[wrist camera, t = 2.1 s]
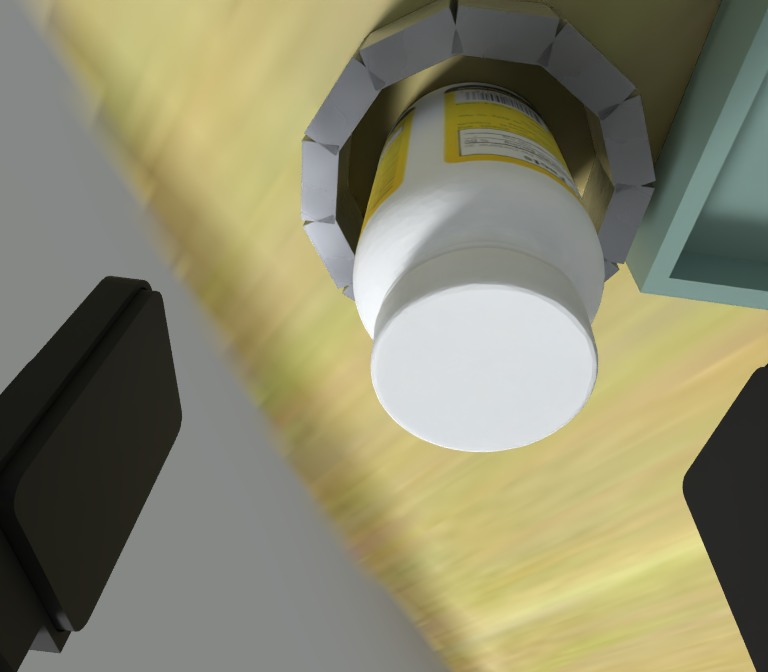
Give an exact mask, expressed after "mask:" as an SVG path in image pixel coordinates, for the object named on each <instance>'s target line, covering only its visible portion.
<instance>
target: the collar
mask: <svg viewBox="0 0 768 672" xmlns="http://www.w3.org/2000/svg"><path fill="white" fill-rule="evenodd" d="M457 54H458V55H466V56H474V57H481V58H489V59H496V60H504V61H512V62H519V63H527V64H534V65H541V66H542V67H543V68H544V69H545V70H546V71H548V72H549V73H550V74H551V75H552V76H553V77H554V78H555V79H556V80H558V81H559V82H560V83H561V84H562V85H563V86H564V87H565V88H567V89H568V90H569V91H570V92H571V93H572V94H573V95H574V96H575V97H577V98H578V99H579V100H580V101H581V102H582V103H583V104H584V106H585V111H586V115H587V119H588V123H589V128H590V132H591V136H592V141H593V145H594V149H595V153H596V158H595V161H594V164H593V167H592V170H591V173H590V176H589V179H588V182H587V185H586V188H585V191H584V194H583V197H582V200H583V203H584V205H585V207H586V209H587V211H588V213H589V215H590V218H591V220H592V222H593V224H594V227H595V229H596V232H597V235H598V239H599V242H600V245H601V248H602V252H603V258H604V267H605V278H604V282H605V281H607V280H608V279H609V278H610V277H611V276H612V275H614V274H615V273H616V272H617V271H618V270H619V268H618V266H617V263H621V264H624V262H625V260H626V257H627V255H628V252H629V250H630V248H631V245H632V243H633V240H634V238H635V235H636V233H637V231H638V228H639V226H640V223H641V221H642V218H643V216H644V214H645V211H646V209H647V206H648V204H649V201H650V199H651V197H652V194H653V192H654V189H655V188H654V186H653V185H652V183H651V182H653V181H656V178H655V173H654V167H653V162H652V156H651V151H650V145H649V139H648V134H647V128H646V123H645V117H644V112H643V106H642V101H641V95H640V94H639V93H638V92H637V91H636V90H635V89H636V88H637V87H636V86H635V85H634V84H632V83H631V82H630V81H629V80H628V79H627V78H626V77H625V76H624V75H623V74H622V73H621V72H620V71H619V70H618V69H617V68H616V67H615V66H614V65H613V64H612V63H611V62H610V61H609V60H608V59H607V58H606V57H605V56H604V55H603V54H602V53H600V52H599V51H598V50H597V49H596V48H595V47H594V46H593V45H592V44H591V43H590V42H589V41H588V40H587V39H586V38H585V37H584V36H582V35H581V34H580V33H579V32H578V31H577V30H576V29H575V28H574V27H573V26H572V25H571V24H570V23H569V22H568V21H567V20H566V19H564V18H563V17H562V16H561V15H560V14H559V13H558V12H557V11H556V10H555V9H554V8H553V7H552V8H551V9H550V8H549V7H548V6H547V5H546V4H543V3H536V2H528V1H520V0H457V2H456V8H454V5H453V2H452V0H436V1H434V2H432V3H430V4H428V5H426V6H424V7H422V8H420V9H418V10H416V11H414V12H412V13H410V14H408V15H406V16H404V17H402V18H400V19H398V20H396V21H394V22H392V23H390V24H388V25H386V26H384V27H381V28H379V29H377V30H375V31H373V32H371V33H370V35H369V36H368V38H367V39H366V38H365V39H364V40H363V42H362V43H361V45H360V46H359V48H358V49H357V51H356V52H355V54H354V55H353V57H352V58H351V60H350V61H349V63H348V65H347V66H346V68H345V69H344V71H343V73H342V74H341V76H340V77H339V79H338V80H337V82H336V84H335V85H334V87H333V88H332V90H331V92H330V93H329V95H328V96H327V98H326V99H325V101H324V103H323V104H322V106H321V107H320V109H319V111H318V112H317V114H316V115H315V117H314V118H313V120H312V122H311V123H310V125H309V126H308V128H307V130H306V131H305V134H306V135H305V137H304V138H303V140H302V182H301V220H305V223H304V225H303V228H304V229H305V231H306V233H307V235H308V236H309V238H310V240H311V242H312V243H313V245H314V247H315V249H316V250H317V252H318V254H319V256H320V258H321V259H322V261H323V263H324V265H325V266H326V268H327V270H328V272H329V273H330V275H331V277H332V279H333V281H334V282H335V284H336V286H337V288H338V289H339V288H342V287H344V290H343V294H344V295H346V296H347V297H349V298H350V299H352V300H354V301H355V298H354V292H353V269H354V261H355V254H356V249H357V245H358V241H359V237H360V233H361V230H362V225H363V222H364V217H363V215H362V213H361V211H360V209H359V207H358V205H357V203H356V201H355V198H354V196H353V194H352V192H351V190H350V188H349V186H348V179H349V164H350V149H351V134H352V132H353V130H354V129H355V127H356V126H357V124H358V123H359V122H360V120H361V119H362V117H363V116H364V114H365V113H366V111H367V110H368V108H369V107H370V106H371V104H372V103H373V101H374V100H375V98H376V97H377V95H378V94H379V92H380V91H381V90H382V89H383V88H385V87H387V86H389V85H391V84H394V83H396V82H398V81H400V80H402V79H405V78H407V77H409V76H411V75H413V74H416V73H418V72H420V71H422V70H424V69H427V68H429V67H431V66H433V65H435V64H438V63H440V62H442V61H444V60H446V59H449V58H451V57H453V56H455V55H457Z"/></svg>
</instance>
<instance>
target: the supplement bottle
mask: <svg viewBox="0 0 768 672" xmlns="http://www.w3.org/2000/svg"><path fill="white" fill-rule="evenodd" d="M604 278H605V267H604V258H603V252H602V248H601V245H600V242H599V239H598V235H597V232H596V229H595V227H594V224H593V222H592V220H591V218H590V215H589V213H588V211H587V209H586V207H585V205H584V203H583V200H582V198H581V196H580V194H579V192H578V189H577V187H576V185H575V183H574V180H573V178H572V176H571V174H570V171H569V169H568V167H567V165H566V163H565V161H564V158H563V156H562V154H561V152H560V150H559V148H558V146H557V143H556V141H555V139H554V137H553V135H552V133H551V131H550V129H549V127H548V126H547V124H546V123H545V121H544V120H543V118H542V117H541V115H540V114H539V113H538V112H537V110H536V109H535V108H534V107H533V106H532V105H531V104H530V103H528V102H527V101H526V100H525V99H523V98H522V97H521V96H519V95H517V94H515V93H514V92H512V91H510V90H507V89H505V88H502V87H499V86H496V85H491V84H486V83H477V82H467V83H458V84H453V85H449V86H445V87H442V88H440V89H437V90H435V91H432V92H430V93H428V94H427V95H425V96H423V97H422V98H420V99H419V100H418V101H416V102H415V103H414V104H413V105H411V106H410V107H409V108H408V109H407V110H406V111H405V112H404V113H403V114H402V115H401V117H400V118H399V119H398V120H397V122H396V123H395V125H394V126H393V128H392V130H391V131H390V133H389V135H388V137H387V139H386V142H385V144H384V147H383V150H382V153H381V156H380V160H379V164H378V167H377V172H376V176H375V180H374V183H373V187H372V191H371V195H370V199H369V202H368V206H367V210H366V214H365V218H364V222H363V225H362V230H361V233H360V237H359V241H358V245H357V249H356V254H355V261H354V269H353V292H354V298H355V302H356V306H357V309H358V313H359V315H360V318H361V320H362V323H363V324H364V326H365V328H366V330H367V332H368V333H369V335H370V336H371V338H372V339H373V347H372V355H371V377H372V383H373V387H374V389H375V392H376V394H377V397H378V399H379V401H380V403H381V404H382V406H383V407H384V409H385V410H386V411H387V413H388V414H389V415H390V416H391V417H392V418H393V419H394V420H395V421H396V422H397V423H398V424H399V425H400V426H402V427H403V428H404V429H405V430H407V431H408V432H410V433H412V434H413V435H415V436H417V437H419V438H421V439H423V440H425V441H427V442H430V443H433V444H435V445H438V446H442V447H445V448H450V449H455V450H461V451H469V452H494V451H501V450H507V449H513V448H518V447H522V446H525V445H529V444H531V443H534V442H536V441H539V440H541V439H543V438H545V437H547V436H549V435H550V434H552V433H554V432H556V431H557V430H559V429H560V428H562V427H563V426H565V425H566V424H567V423H568V422H569V421H570V420H572V419H573V418H574V417H575V416H576V415H577V414H578V413H579V411H580V410H581V409H582V408H583V407H584V405H585V404H586V402H587V400H588V398H589V397H590V395H591V393H592V391H593V388H594V385H595V382H596V378H597V373H598V353H597V348H596V344H595V340H594V336H593V332H592V329H591V324H592V322H593V320H594V317H595V315H596V313H597V311H598V308H599V305H600V303H601V298H602V294H603V289H604Z"/></svg>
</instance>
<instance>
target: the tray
mask: <svg viewBox="0 0 768 672" xmlns="http://www.w3.org/2000/svg"><path fill="white" fill-rule="evenodd" d="M654 173H655V178H656V181H653V182H651V183H652V185H653V186H654V188H655V189H654V192H653V194H652V197H651V199H650V201H649V204H648V206H647V209H646V211H645V214H644V216H643V218H642V221H641V223H640V226H639V228H638V231H637V233H636V235H635V238H634V240H633V243H632V245H631V248H630V250H629V252H628V255H627V257H626V260H625V262H626V264H627V266H628V268H629V270H630V272H631V274H632V276H633V278H634V280H635V282H636V284H637V286H638V288H639V290H640V292H641V293H649V294H656V295H663V296H670V297H678V298H685V299H692V300H699V301H707V302H714V303H721V304H728V305H736V306H743V307H750V308H757V309H765V310H768V0H722V1H721V4H720V6H719V9H718V11H717V14H716V16H715V19H714V21H713V24H712V26H711V29H710V31H709V34H708V36H707V39H706V41H705V44H704V46H703V48H702V51H701V53H700V56H699V58H698V61H697V63H696V66H695V68H694V71H693V73H692V76H691V78H690V81H689V83H688V86H687V88H686V91H685V93H684V96H683V98H682V101H681V103H680V106H679V108H678V111H677V113H676V116H675V118H674V121H673V123H672V126H671V128H670V131H669V133H668V136H667V138H666V140H665V143H664V145H663V148H662V150H661V153H660V155H659V158H658V160H657V163H656V165H655V168H654Z"/></svg>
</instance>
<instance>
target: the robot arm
mask: <svg viewBox="0 0 768 672" xmlns="http://www.w3.org/2000/svg"><path fill="white" fill-rule="evenodd" d="M181 421H182V411H181V404H180V398H179V393H178V387H177V381H176V375H175V369H174V363H173V357H172V351H171V345H170V339H169V334H168V328H167V322H166V317H165V310H164V304H163V299H162V295H161V294H160V292H158V291H152V289H151V286H150V284H149V283H148V282H147V281H145V280H139V279H130V278H122V277H114V276H108V277H105V278H104V279H103V280H102V281H101V282H100V283H99V284H98V285H97V286H96V288H95V289H94V290H93V291H92V292H91V293H90V294H89V295H88V297H87V298H86V299H85V300H84V301H83V302H82V304H81V305H80V306H79V307H78V308H77V309H76V310H75V311H74V313H73V314H72V315H71V316H70V317H69V318H68V319H67V321H66V322H65V323H64V324H63V325H62V326H61V327H60V329H59V330H58V331H57V332H56V333H55V334H54V336H53V337H52V338H51V339H50V340H49V341H48V342H47V344H46V345H45V346H44V347H43V348H42V349H41V350H40V352H39V353H38V354H37V355H36V356H35V357H34V358H33V359H32V360H31V361H30V362H29V363H28V364H27V365H26V366H25V368H23V369H22V371H21V372H20V373H19V374H18V375H17V377H15V379H14V380H13V381H12V382H11V383H10V384H9V385H8V387H7V388H6V389H5V390H4V391H3V392H2V394H1V395H0V672H17V671H18V669H19V667H20V665H21V663H22V661H23V660H24V658H25V656H26V654H27V652H28V650H37V651H45V652H54V653H60V652H61V651H62V649H63V647H64V645H65V643H66V641H67V639H68V637H69V635H70V633H71V631H75V632H76V631H80V630H81V629H82V628H83V627H84V626H85V625H86V623H87V622H88V620H89V618H90V616H91V614H92V612H93V610H94V608H95V606H96V604H97V602H98V600H99V598H100V596H101V593H102V591H103V589H104V587H105V585H106V583H107V581H108V579H109V577H110V574H111V573H112V571H113V568H114V566H115V564H116V562H117V560H118V558H119V556H120V554H121V552H122V549H123V548H124V546H125V543H126V541H127V539H128V537H129V535H130V533H131V531H132V529H133V527H134V525H135V523H136V521H137V518H138V516H139V514H140V512H141V510H142V508H143V506H144V504H145V502H146V500H147V498H148V496H149V494H150V492H151V489H152V487H153V485H154V483H155V481H156V479H157V477H158V475H159V473H160V471H161V469H162V466H163V464H164V462H165V460H166V458H167V456H168V454H169V452H170V450H171V448H172V445H173V444H174V442H175V440H176V437H177V435H178V433H179V430H180V427H181ZM683 494H684V497H685V500H686V502H687V505H688V507H689V510H690V512H691V514H692V517H693V519H694V522H695V524H696V526H697V529H698V531H699V534H700V536H701V539H702V541H703V543H704V546H705V548H706V551H707V553H708V555H709V558H710V560H711V563H712V565H713V568H714V570H715V572H716V575H717V577H718V580H719V582H720V584H721V587H722V589H723V592H724V594H725V597H726V599H727V601H728V604H729V606H730V609H731V611H732V614H733V616H734V618H735V621H736V623H737V626H738V628H739V630H740V633H741V635H742V638H743V640H744V643H745V645H746V647H747V650H748V652H749V655H750V657H751V659H752V662H753V664H754V667H755V669H756V672H768V364H767V365H766V366H765V367H760V368H758V369H757V370H756V371H755V372H754V373H753V374H752V376H751V377H750V379H749V380H748V382H747V383H746V385H745V386H744V388H743V389H742V391H741V392H740V394H739V395H738V397H737V398H736V400H735V401H734V402H733V404H732V405H731V407H730V408H729V410H728V411H727V413H726V414H725V416H724V417H723V419H722V420H721V422H720V423H719V425H718V426H717V428H716V429H715V431H714V432H713V434H712V435H711V437H710V438H709V440H708V441H707V443H706V444H705V446H704V447H703V449H702V450H701V452H700V453H699V455H698V456H697V458H696V459H695V461H694V462H693V464H692V465H691V467H690V468H689V470H688V471H687V473H686V474H685V476H684V480H683Z"/></svg>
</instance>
